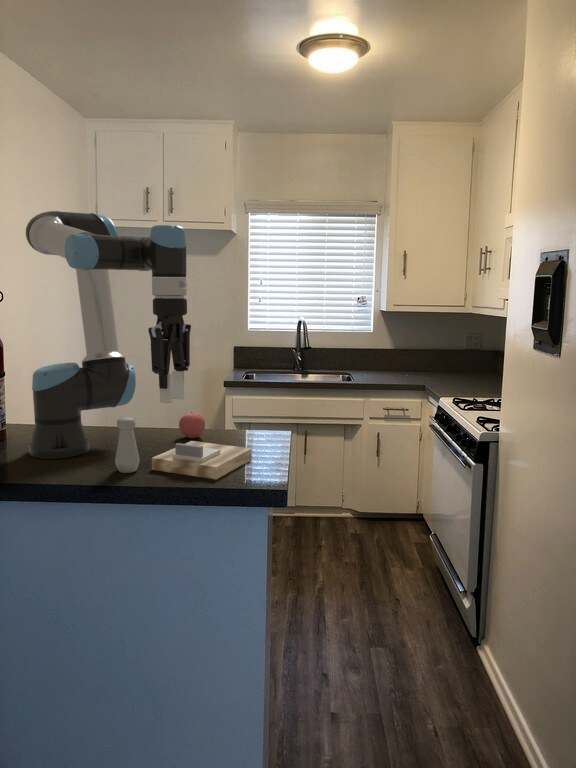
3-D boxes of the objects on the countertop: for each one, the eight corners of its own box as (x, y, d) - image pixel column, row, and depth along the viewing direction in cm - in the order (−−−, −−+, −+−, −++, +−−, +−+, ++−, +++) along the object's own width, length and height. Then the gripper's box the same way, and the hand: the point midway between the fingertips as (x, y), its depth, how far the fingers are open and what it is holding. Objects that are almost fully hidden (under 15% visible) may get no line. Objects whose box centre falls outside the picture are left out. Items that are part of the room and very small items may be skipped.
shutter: (172, 458, 152) (172, 444, 151) (191, 449, 160) (191, 436, 159) (202, 462, 149) (202, 448, 148) (220, 453, 156) (220, 439, 156)
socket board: (152, 469, 153) (151, 457, 152) (191, 451, 169) (191, 440, 168) (216, 479, 146) (216, 467, 145) (251, 459, 162) (251, 448, 161)
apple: (191, 442, 179) (191, 414, 177) (174, 438, 183) (173, 411, 182) (210, 437, 184) (210, 410, 183) (193, 433, 189) (192, 407, 188)
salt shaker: (127, 475, 148) (125, 421, 146) (110, 471, 151) (108, 419, 149) (145, 469, 153) (143, 417, 151) (128, 465, 156) (126, 414, 154)
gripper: (161, 298, 129) (164, 409, 133) (204, 296, 145) (206, 395, 149) (131, 297, 132) (135, 406, 136) (177, 296, 148) (179, 393, 152)
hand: (172, 400), depth 142 cm, fingers open, 4 cm apart
